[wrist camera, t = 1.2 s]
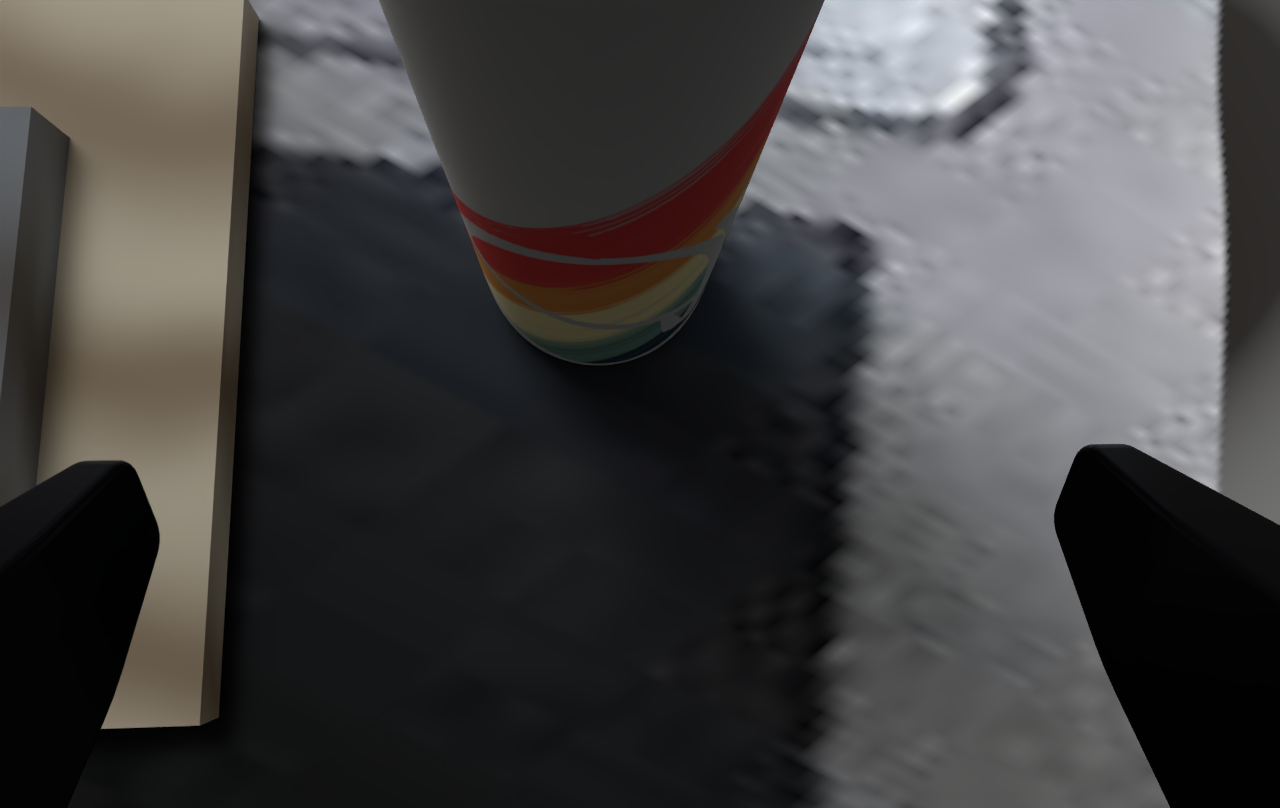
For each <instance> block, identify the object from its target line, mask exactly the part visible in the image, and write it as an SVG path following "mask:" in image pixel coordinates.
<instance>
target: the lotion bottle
mask: <svg viewBox="0 0 1280 808" xmlns="http://www.w3.org/2000/svg"><path fill="white" fill-rule="evenodd" d="M379 2H380V4H381V7H382V9H383V12H384V15H385V17H386V20H387V22H388V25H389V28H390V30H391V33H392V35H393V38H394V41H395V43H396V46H397V49H398V51H399V54H400V56H401V59H402V62H403V64H404V67H405V69H406V72H407V75H408V77H409V80H410V82H411V85H412V88H413V90H414V93H415V95H416V98H417V101H418V103H419V106H420V109H421V111H422V114H423V116H424V119H425V122H426V124H427V127H428V129H429V132H430V135H431V137H432V140H433V142H434V145H435V148H436V150H437V153H438V155H439V158H440V161H441V163H442V166H443V169H444V171H445V174H446V176H447V179H448V182H449V184H450V187H451V189H452V192H453V195H454V197H455V200H456V202H457V205H458V208H459V210H460V213H461V216H462V218H463V221H464V223H465V226H466V229H467V231H468V234H469V236H470V239H471V242H472V244H473V247H474V249H475V252H476V255H477V257H478V260H479V262H480V265H481V268H482V270H483V273H484V275H485V278H486V280H487V282H488V285H489V287H490V289H491V292H492V294H493V296H494V298H495V300H496V302H497V304H498V306H499V307H500V309H501V311H502V312H503V314H504V315H505V317H506V318H507V320H508V321H509V322H510V324H511V325H512V326H513V327H514V328H515V329H516V331H517V332H518V333H520V334H521V335H522V336H523V337H524V338H525V339H526V340H527V341H529V342H530V343H531V344H533V345H534V346H536V347H537V348H539V349H540V350H542V351H544V352H546V353H548V354H550V355H552V356H554V357H557V358H559V359H562V360H566V361H569V362H573V363H578V364H584V365H611V364H618V363H623V362H627V361H630V360H634V359H637V358H639V357H641V356H644V355H646V354H648V353H650V352H652V351H654V350H656V349H657V348H659V347H660V346H662V345H663V344H664V343H666V342H667V341H668V340H669V339H671V338H672V337H673V336H674V335H675V334H676V333H677V332H678V331H679V330H680V329H681V327H682V326H683V325H684V324H685V322H686V321H687V320H688V319H689V317H690V316H691V314H692V313H693V311H694V309H695V308H696V306H697V304H698V302H699V300H700V298H701V296H702V294H703V292H704V290H705V288H706V285H707V283H708V281H709V278H710V276H711V274H712V271H713V269H714V266H715V264H716V262H717V259H718V257H719V254H720V252H721V250H722V247H723V245H724V242H725V240H726V237H727V235H728V233H729V230H730V228H731V225H732V223H733V220H734V218H735V216H736V213H737V211H738V208H739V206H740V204H741V201H742V199H743V196H744V194H745V191H746V189H747V187H748V184H749V182H750V179H751V177H752V174H753V172H754V170H755V167H756V165H757V162H758V160H759V158H760V155H761V153H762V150H763V148H764V145H765V143H766V141H767V138H768V136H769V133H770V131H771V128H772V126H773V124H774V121H775V119H776V116H777V114H778V112H779V109H780V107H781V104H782V102H783V99H784V97H785V95H786V92H787V90H788V87H789V85H790V82H791V80H792V78H793V75H794V73H795V70H796V68H797V66H798V63H799V61H800V58H801V56H802V53H803V51H804V49H805V46H806V44H807V41H808V39H809V36H810V34H811V32H812V29H813V27H814V24H815V22H816V19H817V17H818V15H819V12H820V10H821V7H822V5H823V2H824V0H379Z"/></svg>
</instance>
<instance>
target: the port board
mask: <svg viewBox="0 0 1280 808" xmlns="http://www.w3.org/2000/svg"><path fill="white" fill-rule="evenodd" d="M258 24H259V17H258V15H257V14H256V12H255V10H254V9H253V7H252V6H251V4H250V2H249V1H248V0H0V506H2V505H3V504H5V503H7V502H9V501H10V500H12V499H14V498H16V497H17V496H19V495H21V494H23V493H24V492H26V491H28V490H29V489H31V488H33V487H35V486H36V485H38V484H40V483H42V482H43V481H45V480H47V479H49V478H50V477H52V476H54V475H56V474H57V473H59V472H61V471H63V470H64V469H66V468H68V467H69V466H71V465H73V464H75V463H77V462H81V461H89V460H123V461H125V462H128V463H130V464H131V465H132V466H133V467H134V468H135V470H136V472H137V474H138V476H139V478H140V481H141V483H142V486H143V488H144V491H145V493H146V496H147V498H148V501H149V503H150V506H151V508H152V511H153V513H154V516H155V518H156V521H157V523H158V527H159V533H160V544H159V551H158V555H157V558H156V561H155V565H154V568H153V571H152V575H151V578H150V581H149V585H148V588H147V591H146V595H145V598H144V601H143V605H142V608H141V611H140V615H139V618H138V621H137V625H136V628H135V631H134V635H133V638H132V641H131V644H130V648H129V651H128V654H127V658H126V661H125V664H124V668H123V671H122V674H121V677H120V680H119V683H118V686H117V689H116V692H115V695H114V698H113V700H112V703H111V705H110V708H109V710H108V713H107V715H106V718H105V720H104V723H103V725H102V728H101V729H114V728H143V727H172V726H200V725H202V724H204V723H207V722H209V721H212V720H214V719H216V718H219V703H220V685H221V668H222V651H223V633H224V616H225V598H226V581H227V564H228V546H229V529H230V511H231V494H232V477H233V459H234V442H235V424H236V407H237V390H238V372H239V355H240V337H241V320H242V303H243V285H244V268H245V250H246V233H247V216H248V198H249V181H250V163H251V146H252V129H253V111H254V94H255V76H256V59H257V42H258Z"/></svg>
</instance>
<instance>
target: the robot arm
mask: <svg viewBox="0 0 1280 808" xmlns="http://www.w3.org/2000/svg"><path fill="white" fill-rule="evenodd" d="M1054 524H1055V530H1056V534H1057V537H1058V540H1059V542H1060V545H1061V548H1062V551H1063V554H1064V557H1065V560H1066V562H1067V565H1068V568H1069V571H1070V574H1071V577H1072V580H1073V582H1074V585H1075V588H1076V591H1077V594H1078V597H1079V600H1080V602H1081V605H1082V608H1083V611H1084V614H1085V617H1086V620H1087V622H1088V625H1089V628H1090V631H1091V634H1092V637H1093V640H1094V642H1095V645H1096V648H1097V650H1098V653H1099V656H1100V658H1101V661H1102V663H1103V666H1104V668H1105V670H1106V673H1107V675H1108V677H1109V679H1110V682H1111V684H1112V686H1113V688H1114V691H1115V693H1116V695H1117V697H1118V699H1119V701H1120V703H1121V705H1122V707H1123V710H1124V712H1125V714H1126V716H1127V718H1128V720H1129V722H1130V724H1131V726H1132V728H1133V731H1134V733H1135V735H1136V737H1137V739H1138V741H1139V743H1140V745H1141V747H1142V749H1143V751H1144V754H1145V756H1146V758H1147V760H1148V762H1149V764H1150V766H1151V768H1152V770H1153V772H1154V775H1155V777H1156V779H1157V781H1158V783H1159V785H1160V787H1161V789H1162V791H1163V793H1164V795H1165V798H1166V800H1167V802H1168V804H1169V806H1170V808H1280V525H1278V524H1276V523H1274V522H1273V521H1271V520H1269V519H1267V518H1265V517H1263V516H1261V515H1259V514H1258V513H1256V512H1254V511H1252V510H1250V509H1248V508H1246V507H1244V506H1243V505H1241V504H1239V503H1237V502H1235V501H1233V500H1231V499H1230V498H1228V497H1226V496H1224V495H1222V494H1220V493H1218V492H1216V491H1215V490H1213V489H1211V488H1209V487H1207V486H1205V485H1203V484H1201V483H1200V482H1198V481H1196V480H1194V479H1192V478H1190V477H1188V476H1186V475H1185V474H1183V473H1181V472H1179V471H1177V470H1175V469H1173V468H1171V467H1170V466H1168V465H1166V464H1164V463H1162V462H1160V461H1158V460H1157V459H1155V458H1153V457H1151V456H1149V455H1147V454H1145V453H1143V452H1142V451H1140V450H1138V449H1136V448H1134V447H1132V446H1130V445H1125V444H1091V445H1087V446H1085V447H1083V448H1081V449H1080V451H1079V452H1078V453H1077V454H1076V456H1075V458H1074V461H1073V463H1072V466H1071V468H1070V471H1069V474H1068V476H1067V479H1066V481H1065V484H1064V486H1063V489H1062V491H1061V494H1060V496H1059V499H1058V502H1057V504H1056V508H1055V513H1054ZM159 544H160V533H159V527H158V523H157V521H156V518H155V516H154V513H153V511H152V508H151V506H150V503H149V501H148V498H147V496H146V493H145V491H144V488H143V486H142V483H141V481H140V478H139V476H138V474H137V472H136V470H135V468H134V467H133V466H132V465H131V464H130V463H128V462H125V461H123V460H89V461H81V462H77V463H75V464H73V465H71V466H69V467H68V468H66V469H64V470H63V471H61V472H59V473H57V474H56V475H54V476H52V477H50V478H49V479H47V480H45V481H43V482H42V483H40V484H38V485H36V486H35V487H33V488H31V489H29V490H28V491H26V492H24V493H23V494H21V495H19V496H17V497H16V498H14V499H12V500H10V501H9V502H7V503H5V504H3V505H2V506H0V808H67V807H68V804H69V802H70V800H71V797H72V795H73V793H74V790H75V788H76V786H77V783H78V781H79V779H80V776H81V774H82V772H83V769H84V767H85V765H86V762H87V760H88V758H89V755H90V753H91V751H92V748H93V746H94V744H95V741H96V739H97V737H98V734H99V732H100V730H101V728H102V725H103V723H104V720H105V718H106V715H107V713H108V710H109V708H110V705H111V703H112V700H113V698H114V695H115V692H116V689H117V686H118V683H119V680H120V677H121V674H122V671H123V668H124V664H125V661H126V658H127V654H128V651H129V648H130V644H131V641H132V638H133V635H134V631H135V628H136V625H137V621H138V618H139V615H140V611H141V608H142V605H143V601H144V598H145V595H146V591H147V588H148V585H149V581H150V578H151V575H152V571H153V568H154V565H155V561H156V558H157V555H158V551H159Z"/></svg>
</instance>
